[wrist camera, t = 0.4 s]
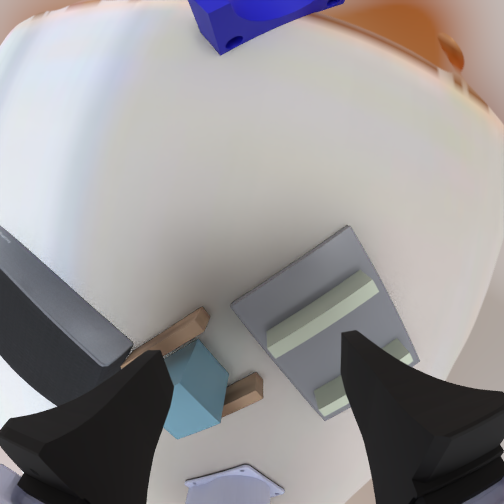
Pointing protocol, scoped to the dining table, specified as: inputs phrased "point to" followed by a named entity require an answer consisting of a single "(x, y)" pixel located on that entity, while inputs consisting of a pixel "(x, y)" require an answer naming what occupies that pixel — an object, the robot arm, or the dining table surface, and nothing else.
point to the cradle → (186, 330)
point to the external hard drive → (52, 329)
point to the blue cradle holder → (248, 18)
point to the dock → (323, 318)
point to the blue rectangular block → (195, 390)
